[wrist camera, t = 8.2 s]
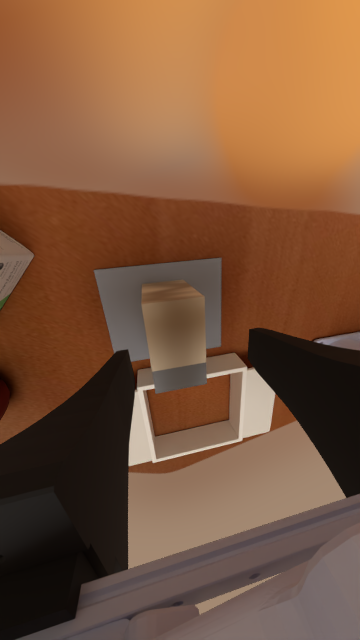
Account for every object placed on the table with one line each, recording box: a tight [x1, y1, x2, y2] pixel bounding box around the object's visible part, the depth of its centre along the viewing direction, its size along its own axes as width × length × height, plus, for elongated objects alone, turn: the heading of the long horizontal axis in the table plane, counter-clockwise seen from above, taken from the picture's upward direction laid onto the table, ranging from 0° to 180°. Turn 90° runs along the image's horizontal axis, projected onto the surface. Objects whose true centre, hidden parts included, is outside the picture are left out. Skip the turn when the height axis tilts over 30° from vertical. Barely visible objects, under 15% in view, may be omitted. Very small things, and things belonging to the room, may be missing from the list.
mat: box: [94, 258, 221, 361], centre depth 19 cm, size 12×10×1 cm
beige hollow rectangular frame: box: [129, 353, 275, 466], centre depth 23 cm, size 20×12×3 cm, turn 94°
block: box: [141, 280, 207, 393], centre depth 16 cm, size 4×7×7 cm, turn 4°
